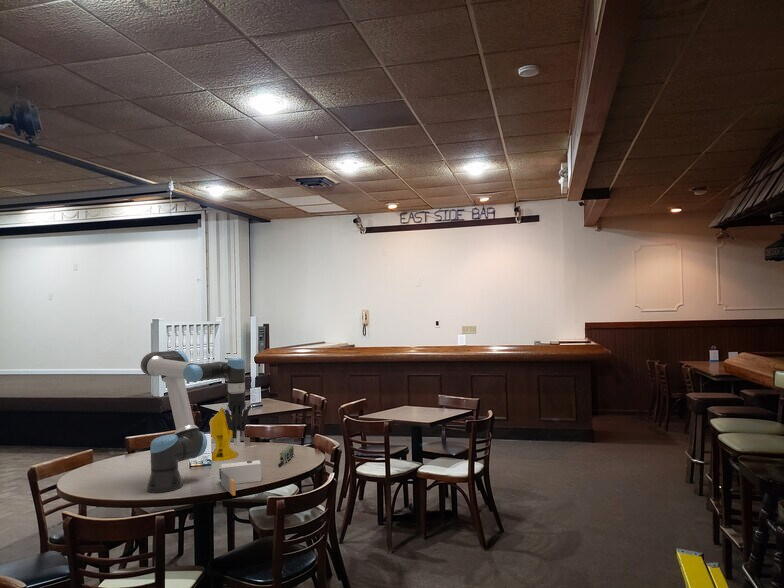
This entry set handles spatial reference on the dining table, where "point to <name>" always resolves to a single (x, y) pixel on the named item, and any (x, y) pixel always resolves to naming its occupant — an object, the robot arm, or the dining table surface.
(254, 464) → the camera housing
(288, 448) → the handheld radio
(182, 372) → the robot arm
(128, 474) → the dining table surface
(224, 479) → the side door
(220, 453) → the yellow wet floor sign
